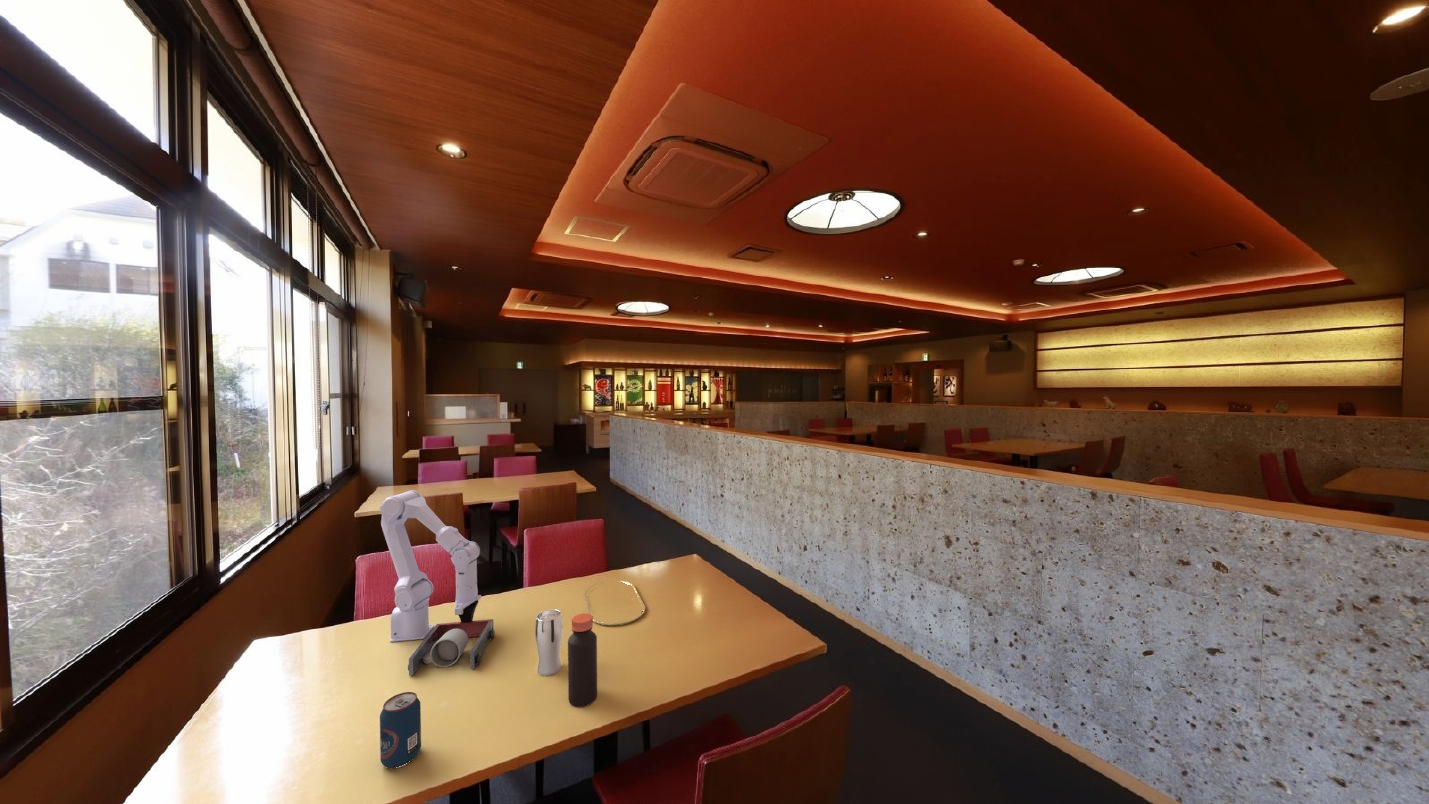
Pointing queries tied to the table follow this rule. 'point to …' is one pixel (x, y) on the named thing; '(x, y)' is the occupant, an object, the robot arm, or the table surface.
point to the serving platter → (606, 582)
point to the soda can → (400, 729)
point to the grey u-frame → (470, 627)
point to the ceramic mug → (447, 648)
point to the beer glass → (549, 641)
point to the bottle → (582, 662)
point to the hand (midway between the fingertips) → (467, 626)
